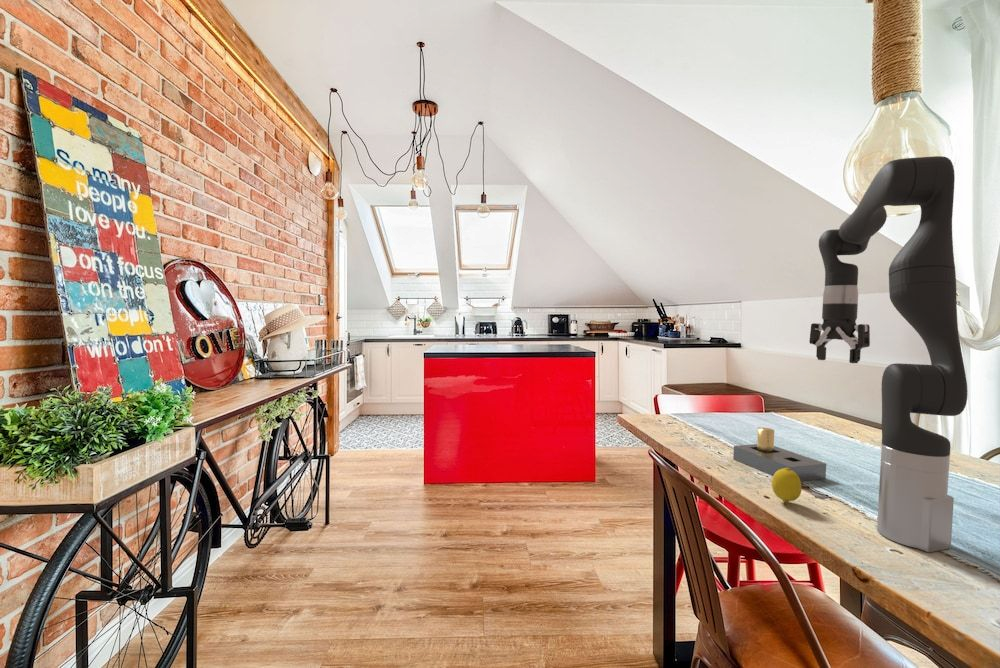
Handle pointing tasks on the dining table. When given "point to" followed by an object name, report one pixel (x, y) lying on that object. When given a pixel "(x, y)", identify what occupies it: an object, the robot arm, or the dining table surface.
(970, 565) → the dining table surface
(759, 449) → the gold metal block
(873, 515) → the dining table surface
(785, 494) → the lemon
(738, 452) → the plate
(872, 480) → the dining table surface
